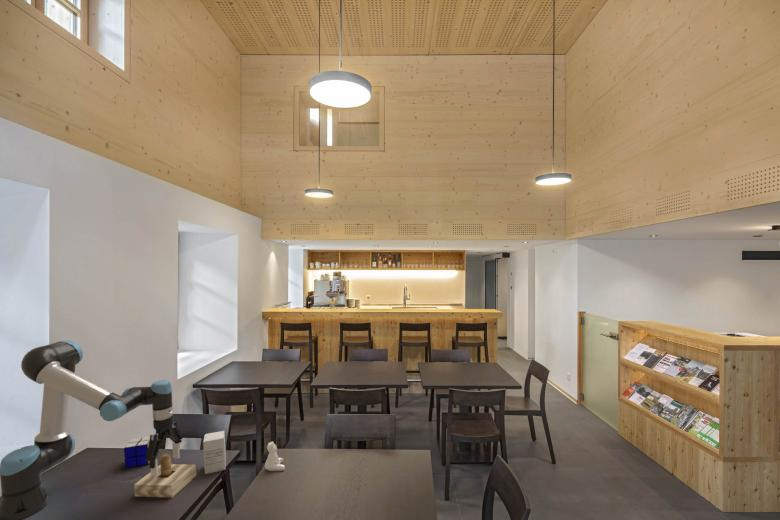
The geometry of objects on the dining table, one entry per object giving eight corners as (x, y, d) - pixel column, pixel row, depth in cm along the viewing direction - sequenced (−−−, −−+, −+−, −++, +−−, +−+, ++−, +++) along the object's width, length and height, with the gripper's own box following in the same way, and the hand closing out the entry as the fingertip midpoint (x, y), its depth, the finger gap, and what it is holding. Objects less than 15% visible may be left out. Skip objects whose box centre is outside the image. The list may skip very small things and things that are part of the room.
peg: (159, 488, 168) (157, 458, 168) (165, 482, 172) (164, 453, 172) (168, 488, 167) (166, 458, 167) (174, 483, 171) (172, 453, 171)
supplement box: (206, 465, 185) (204, 433, 185) (226, 460, 189) (224, 429, 189) (204, 474, 177) (202, 441, 177) (225, 470, 180) (224, 437, 180)
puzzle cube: (124, 468, 186) (123, 447, 186) (132, 458, 196) (131, 438, 196) (148, 464, 189) (147, 444, 189) (155, 454, 198) (153, 435, 198)
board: (134, 496, 163) (134, 484, 163) (162, 474, 179) (161, 464, 179) (172, 497, 161) (171, 485, 161) (196, 475, 176) (195, 464, 176)
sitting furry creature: (285, 470, 177) (284, 444, 177) (265, 475, 174) (264, 448, 174) (283, 461, 186) (281, 435, 186) (264, 465, 183) (262, 439, 183)
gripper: (149, 430, 157) (152, 482, 157) (189, 406, 181) (192, 451, 181) (132, 430, 157) (135, 482, 158) (174, 406, 182) (177, 451, 182)
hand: (165, 466), depth 170 cm, fingers open, 13 cm apart
